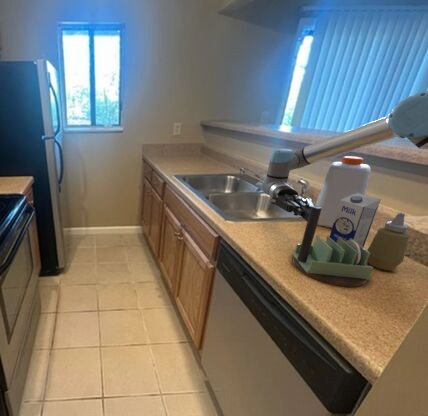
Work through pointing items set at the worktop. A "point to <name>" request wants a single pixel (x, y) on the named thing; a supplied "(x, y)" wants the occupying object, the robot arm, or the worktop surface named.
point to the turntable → (332, 278)
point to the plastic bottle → (341, 186)
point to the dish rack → (331, 253)
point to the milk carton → (354, 218)
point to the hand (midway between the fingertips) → (311, 218)
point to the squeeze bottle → (389, 244)
